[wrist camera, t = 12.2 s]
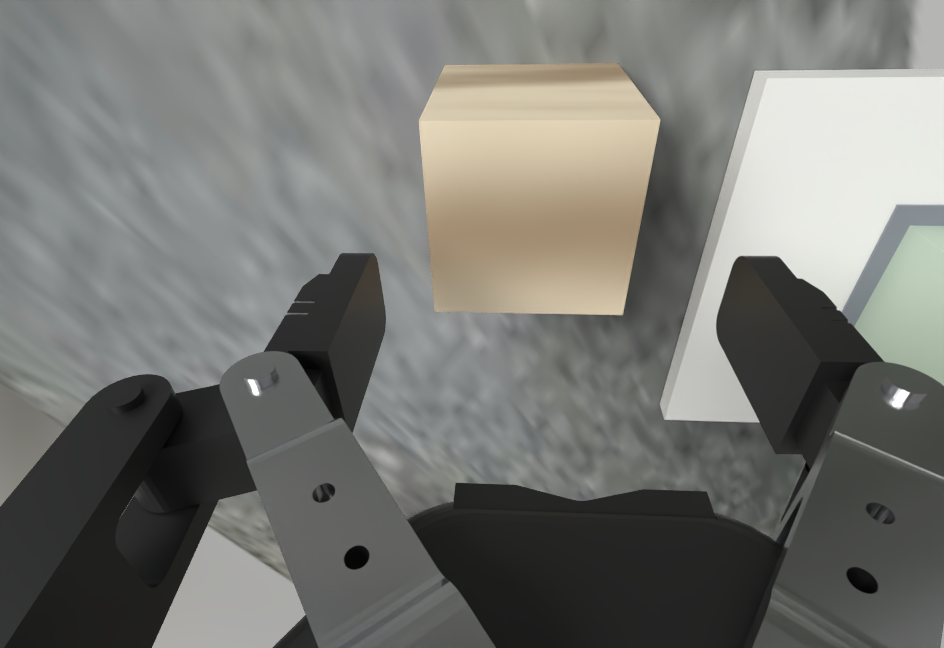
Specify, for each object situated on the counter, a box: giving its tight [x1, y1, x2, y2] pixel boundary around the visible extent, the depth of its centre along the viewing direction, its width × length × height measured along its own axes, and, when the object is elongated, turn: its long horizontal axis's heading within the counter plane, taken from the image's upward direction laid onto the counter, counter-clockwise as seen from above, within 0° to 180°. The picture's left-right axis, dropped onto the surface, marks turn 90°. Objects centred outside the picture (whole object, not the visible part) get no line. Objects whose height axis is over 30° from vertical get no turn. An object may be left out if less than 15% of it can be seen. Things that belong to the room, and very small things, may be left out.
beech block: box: [419, 63, 660, 315], centre depth 16 cm, size 6×6×6 cm
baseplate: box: [660, 69, 944, 423], centre depth 20 cm, size 15×18×1 cm
